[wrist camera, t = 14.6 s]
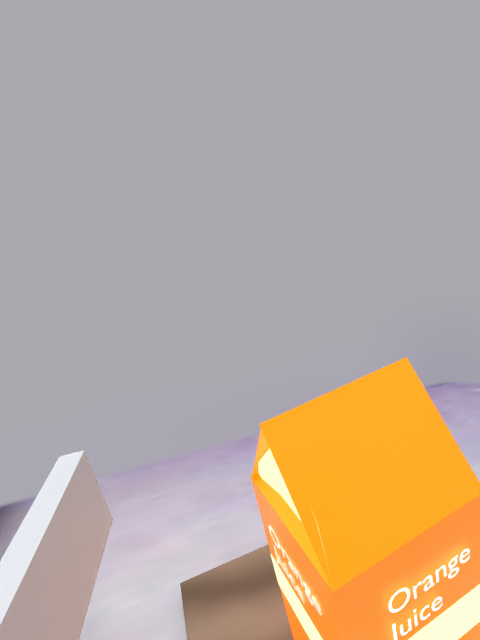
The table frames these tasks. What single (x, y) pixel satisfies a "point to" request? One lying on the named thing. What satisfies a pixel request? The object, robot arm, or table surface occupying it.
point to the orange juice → (371, 514)
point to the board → (237, 601)
